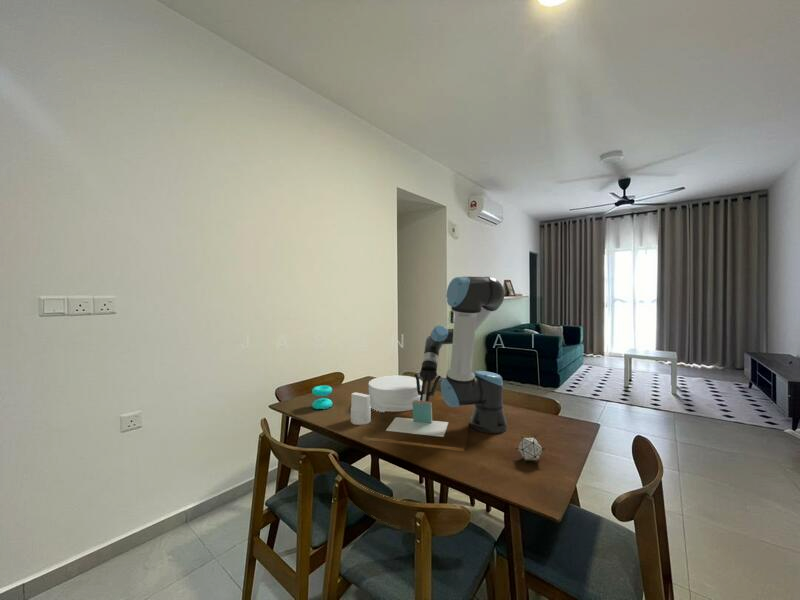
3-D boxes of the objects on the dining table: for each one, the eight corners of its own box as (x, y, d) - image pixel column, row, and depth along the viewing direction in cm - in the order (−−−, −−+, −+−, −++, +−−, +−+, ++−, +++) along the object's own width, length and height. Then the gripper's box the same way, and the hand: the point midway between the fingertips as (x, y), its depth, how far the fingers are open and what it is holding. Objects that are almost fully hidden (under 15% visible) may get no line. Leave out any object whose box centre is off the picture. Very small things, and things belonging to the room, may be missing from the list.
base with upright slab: (374, 419, 151) (374, 393, 151) (361, 426, 143) (361, 399, 143) (359, 415, 156) (359, 390, 156) (346, 421, 148) (346, 395, 148)
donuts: (308, 387, 168) (324, 383, 175) (308, 407, 168) (325, 402, 175) (319, 391, 161) (336, 387, 168) (319, 412, 161) (336, 406, 168)
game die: (531, 468, 115) (542, 441, 118) (541, 472, 107) (553, 443, 110) (508, 454, 117) (519, 427, 120) (516, 456, 108) (528, 428, 112)
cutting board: (448, 424, 144) (448, 422, 144) (443, 439, 130) (443, 436, 130) (395, 419, 151) (395, 417, 151) (385, 432, 136) (385, 430, 136)
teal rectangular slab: (432, 420, 146) (431, 401, 144) (431, 423, 143) (430, 404, 142) (414, 418, 148) (413, 400, 146) (413, 421, 145) (412, 402, 144)
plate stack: (405, 418, 153) (404, 393, 153) (357, 407, 168) (357, 385, 167) (431, 400, 177) (431, 379, 176) (388, 392, 191) (388, 373, 191)
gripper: (443, 368, 163) (438, 414, 148) (418, 367, 167) (410, 411, 151) (442, 360, 158) (436, 406, 142) (415, 358, 162) (407, 403, 146)
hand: (423, 408), depth 147 cm, fingers closed
